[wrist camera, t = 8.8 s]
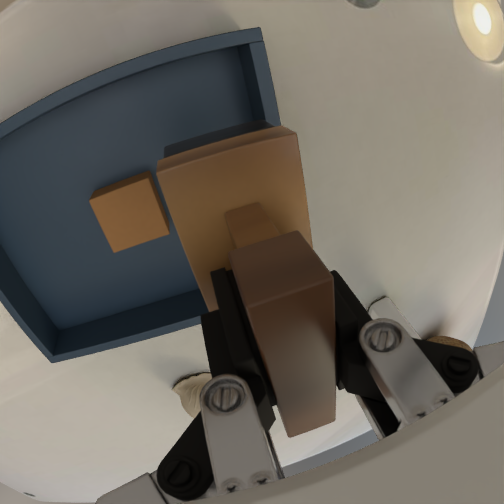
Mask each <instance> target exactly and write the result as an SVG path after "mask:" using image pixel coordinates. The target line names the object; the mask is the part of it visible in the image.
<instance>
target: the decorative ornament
mask: <svg viewBox="0 0 504 504" xmlns="http://www.w3.org/2000/svg"><path fill="white" fill-rule="evenodd" d="M211 379H212V376H211V373H202V374H200V375H198V376H191V377H190V378H189V379H184V380H182V381H181V382H180V383H178V384H177V385H176V386H175V387H174V388H173V389H172V390H173V391H174V392H176V393H177V394H178V395H180V399H181V403H182V406H183V408H184V409H185V411H186V412H187V413H188V414H189V415H190V416H191V417H193V418H194V419H195V417H196V416H197V415H198V413H199V412H200V411H201V409H200V403H199V395H200V392H201V390H202V388H203V387H204V385H205V384H206V383H207V382H208V381H209V380H211Z"/></svg>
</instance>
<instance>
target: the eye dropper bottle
mask: <svg viewBox="0 0 504 504" xmlns="http://www.w3.org/2000/svg"><path fill="white" fill-rule="evenodd" d="M368 314H369V315H370V316H371V318H372V319H373V320H374V319H378V318H387V319H392V320H394V321H396V322H398V323H399V324H401V325H402V326H403V327H404V329H405V330H406V331H407V332H408V334H409V335H410V336H411V337H412V338H417V339H421V338H420V337H419V335H418V334H417V333H416V331H415V330H414V329H413V327H412V326H411V325H410V323H409V322H408V321H407V320H406V318H405V317H404V316H403V315H402V313H401V312H400V311H399V310H398V308H397V307H396V306H395V305H394V303H393V302H392V301H391V300H390V299H389V298H388V297H385V298H383V299H381V300H379V301H377V302H375V303H374V304H372V305H371V307H370V309H369V312H368Z"/></svg>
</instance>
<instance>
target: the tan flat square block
mask: <svg viewBox="0 0 504 504" xmlns="http://www.w3.org/2000/svg"><path fill="white" fill-rule="evenodd" d="M89 202H90V204H91V207H92V209H93V211H94V213H95V215H96V217H97V220H98V222H99V224H100V226H101V228H102V230H103V232H104V234H105V236H106V238H107V240H108V242H109V244H110V246H111V248H112V250H113V252H114V253H115V252H118V251H121V250H124V249H127V248H130V247H133V246H135V245H138V244H141V243H144V242H147V241H150V240H153V239H156V238H159V237H162V236H165V235H168V234H170V230H169V221H168V219H167V216H166V213H165V211H164V208H163V205H162V203H161V200H160V197H159V195H158V192H157V189H156V186H155V184H154V181H153V178H152V175H151V172H150V171H146V172H143V173H140V174H138V175H135V176H132V177H129V178H127V179H124V180H121V181H119V182H116V183H114V184H111V185H108V186H106V187H103V188H101V189H98V190H96V191H94V192H93V193H92V195H91V197H90V199H89Z"/></svg>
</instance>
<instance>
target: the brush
mask: <svg viewBox="0 0 504 504" xmlns="http://www.w3.org/2000/svg"><path fill="white" fill-rule="evenodd" d="M156 175H157V178H158V181H159V184H160V187H161V190H162V192H163V195H164V198H165V201H166V203H167V206H168V209H169V212H170V214H171V217H172V220H173V222H174V225H175V228H176V230H177V233H178V236H179V238H180V241H181V243H182V246H183V249H184V251H185V254H186V256H187V259H188V261H189V264H190V266H191V269H192V271H193V274H194V276H195V279H196V281H197V284H198V286H199V289H200V291H201V293H202V296H203V298H204V301H205V303H206V305H207V308H208V310H209V312H211V311H214V310H217V309H219V308H218V304H217V300H216V296H215V292H214V288H213V284H212V280H211V275H210V272H211V271H214V270H217V269H220V268H223V267H225V269H226V271H228V270H231V269H232V270H233V273H234V277H235V280H236V283H237V286H238V289H239V292H240V296H241V299H242V302H243V305H244V308H245V311H246V314H247V317H248V320H249V323H250V326H251V329H252V332H253V335H254V337H255V340H256V343H257V346H258V349H259V352H260V355H261V358H262V361H263V364H264V367H265V370H266V373H267V376H268V379H269V382H270V385H271V388H272V391H273V394H274V397H275V400H276V403H277V408H278V411H279V413H280V416H281V419H282V422H283V424H284V427H285V430H286V433H287V435H288V437H289V438H290V437H294V436H297V435H299V434H302V433H305V432H308V431H310V430H313V429H316V428H318V427H321V426H324V425H326V424H329V423H331V422H334V421H335V415H336V327H335V298H334V278H333V276H332V274H331V273H330V272H329V270H328V269H327V268H326V266H325V265H324V263H323V262H322V261H321V259H320V258H319V257H318V255H317V254H316V253H315V251H314V250H313V246H312V237H311V229H310V221H309V213H308V206H307V198H306V191H305V184H304V177H303V171H302V164H301V158H300V151H299V145H298V139H297V134H296V133H295V132H293V131H292V130H290V129H288V128H286V127H284V126H274V125H272V124H270V123H268V122H267V121H265V120H263V119H259V120H255V121H251V122H247V123H243V124H239V125H235V126H232V127H228V128H224V129H221V130H217V131H213V132H210V133H206V134H203V135H200V136H196V137H193V138H190V139H187V140H183V141H180V142H177V143H174V144H171V145H168V146H165V147H164V156H163V159H161V160H158V161H157V170H156Z"/></svg>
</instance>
